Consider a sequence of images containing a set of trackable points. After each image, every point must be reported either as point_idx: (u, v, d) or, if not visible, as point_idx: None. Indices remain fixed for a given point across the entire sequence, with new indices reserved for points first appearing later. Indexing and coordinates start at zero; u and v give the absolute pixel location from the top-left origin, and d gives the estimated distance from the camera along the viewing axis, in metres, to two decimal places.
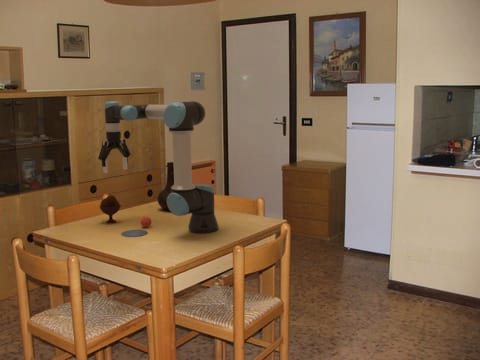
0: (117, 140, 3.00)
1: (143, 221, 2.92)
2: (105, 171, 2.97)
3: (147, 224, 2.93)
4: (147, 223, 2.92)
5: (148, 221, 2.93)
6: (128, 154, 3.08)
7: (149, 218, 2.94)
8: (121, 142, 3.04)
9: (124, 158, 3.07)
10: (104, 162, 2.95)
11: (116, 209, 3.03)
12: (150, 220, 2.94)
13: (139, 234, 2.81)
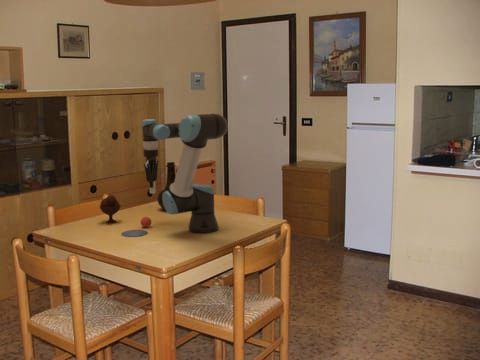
0: None
1: (143, 221, 2.92)
2: (152, 192, 3.00)
3: (147, 224, 2.93)
4: (147, 223, 2.92)
5: (148, 221, 2.93)
6: None
7: (149, 218, 2.94)
8: None
9: None
10: (152, 183, 2.99)
11: (116, 209, 3.03)
12: (150, 220, 2.94)
13: (139, 234, 2.81)
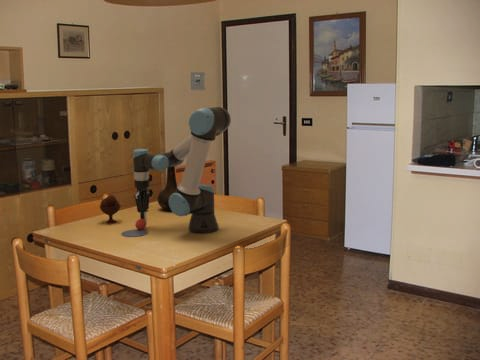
0: None
1: (139, 228, 2.88)
2: None
3: None
4: (143, 228, 2.89)
5: (143, 226, 2.88)
6: None
7: (142, 222, 2.88)
8: (146, 192, 2.94)
9: None
10: (143, 214, 2.91)
11: (116, 209, 3.03)
12: (144, 223, 2.88)
13: (139, 234, 2.81)
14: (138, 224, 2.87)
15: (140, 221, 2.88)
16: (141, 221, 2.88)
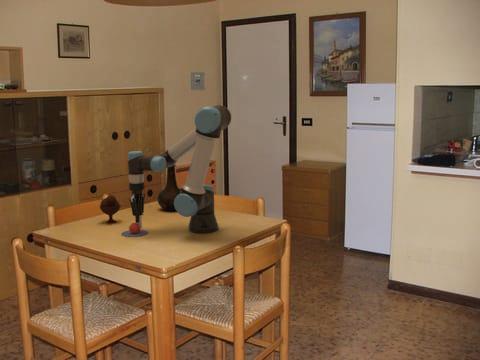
0: None
1: None
2: None
3: None
4: None
5: (138, 231, 2.83)
6: (142, 211, 2.88)
7: (136, 233, 2.81)
8: (141, 195, 2.88)
9: None
10: (138, 218, 2.85)
11: (116, 209, 3.03)
12: (138, 231, 2.82)
13: (139, 234, 2.81)
14: None
15: (133, 233, 2.81)
16: (134, 232, 2.81)
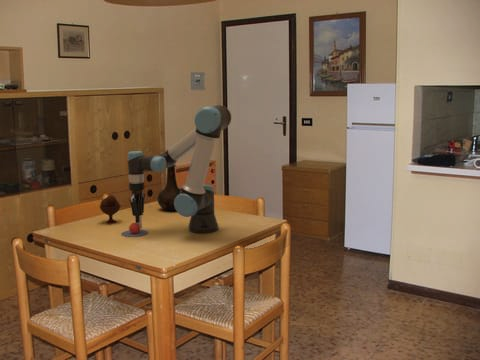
0: None
1: None
2: None
3: None
4: None
5: (138, 231, 2.83)
6: (142, 211, 2.88)
7: (136, 233, 2.81)
8: (141, 195, 2.88)
9: None
10: (138, 218, 2.85)
11: (116, 209, 3.03)
12: (138, 231, 2.82)
13: (139, 234, 2.81)
14: None
15: (133, 233, 2.81)
16: (134, 232, 2.81)
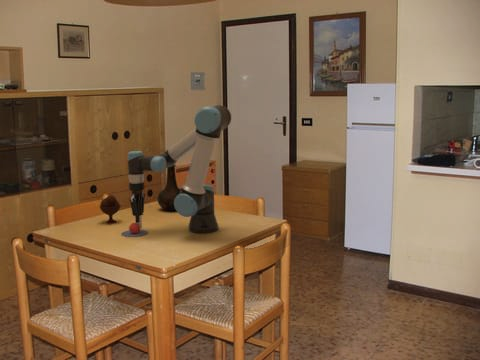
0: None
1: None
2: None
3: None
4: None
5: (138, 231, 2.83)
6: (142, 211, 2.88)
7: (136, 233, 2.81)
8: None
9: None
10: (138, 218, 2.85)
11: (116, 209, 3.03)
12: (138, 231, 2.82)
13: (139, 234, 2.81)
14: None
15: (133, 233, 2.81)
16: (134, 232, 2.81)
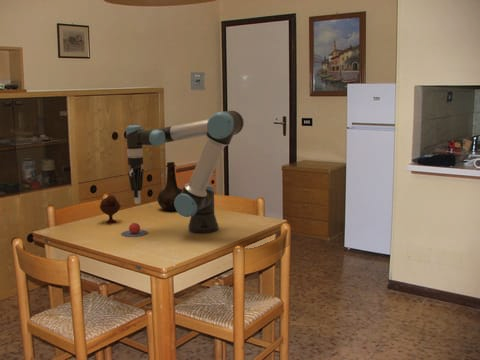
0: (139, 164, 2.84)
1: None
2: (137, 202, 2.84)
3: None
4: None
5: (138, 231, 2.83)
6: None
7: (136, 233, 2.81)
8: None
9: None
10: (137, 193, 2.83)
11: (116, 209, 3.03)
12: (138, 231, 2.82)
13: (139, 234, 2.81)
14: None
15: (133, 233, 2.81)
16: (134, 232, 2.81)
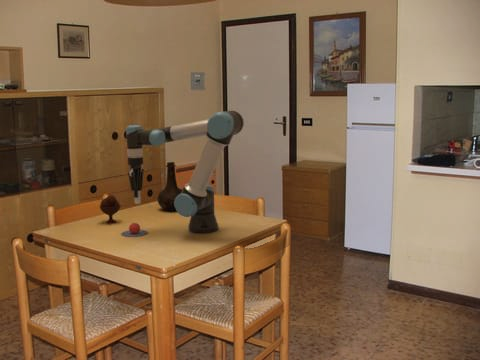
0: (139, 164, 2.84)
1: None
2: (137, 202, 2.84)
3: None
4: None
5: (138, 231, 2.83)
6: None
7: (136, 233, 2.81)
8: None
9: None
10: (137, 193, 2.83)
11: (116, 209, 3.03)
12: (138, 231, 2.82)
13: (139, 234, 2.81)
14: None
15: (133, 233, 2.81)
16: (134, 232, 2.81)
